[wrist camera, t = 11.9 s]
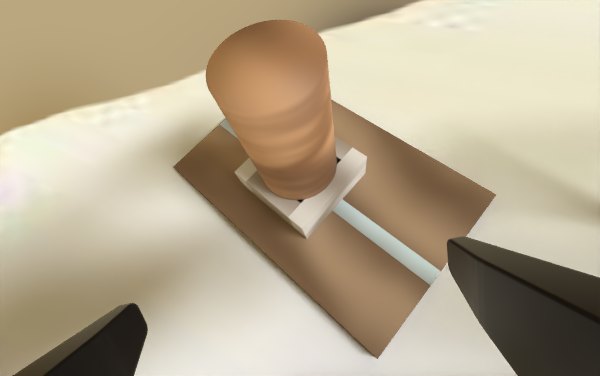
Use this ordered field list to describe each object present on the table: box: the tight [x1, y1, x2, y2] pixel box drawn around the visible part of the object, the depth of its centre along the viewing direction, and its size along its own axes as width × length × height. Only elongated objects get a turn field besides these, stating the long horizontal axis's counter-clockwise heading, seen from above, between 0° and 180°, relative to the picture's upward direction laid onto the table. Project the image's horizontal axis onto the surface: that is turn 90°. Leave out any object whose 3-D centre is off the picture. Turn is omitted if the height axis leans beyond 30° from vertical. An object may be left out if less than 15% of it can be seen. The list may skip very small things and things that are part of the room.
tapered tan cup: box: [206, 20, 337, 200], centre depth 19 cm, size 6×6×12 cm
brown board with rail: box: [174, 100, 496, 359], centre depth 23 cm, size 14×22×3 cm, turn 48°
